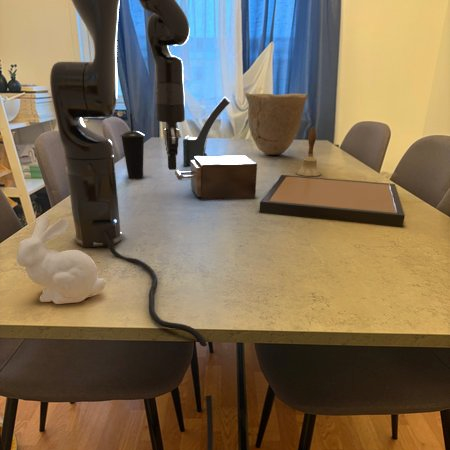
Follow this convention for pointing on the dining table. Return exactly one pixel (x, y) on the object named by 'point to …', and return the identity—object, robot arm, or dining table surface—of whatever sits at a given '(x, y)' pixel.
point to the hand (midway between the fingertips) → (172, 169)
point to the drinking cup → (133, 152)
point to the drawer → (192, 177)
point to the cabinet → (227, 177)
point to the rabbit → (58, 266)
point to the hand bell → (310, 158)
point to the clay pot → (274, 120)
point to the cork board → (334, 200)
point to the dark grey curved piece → (201, 135)
